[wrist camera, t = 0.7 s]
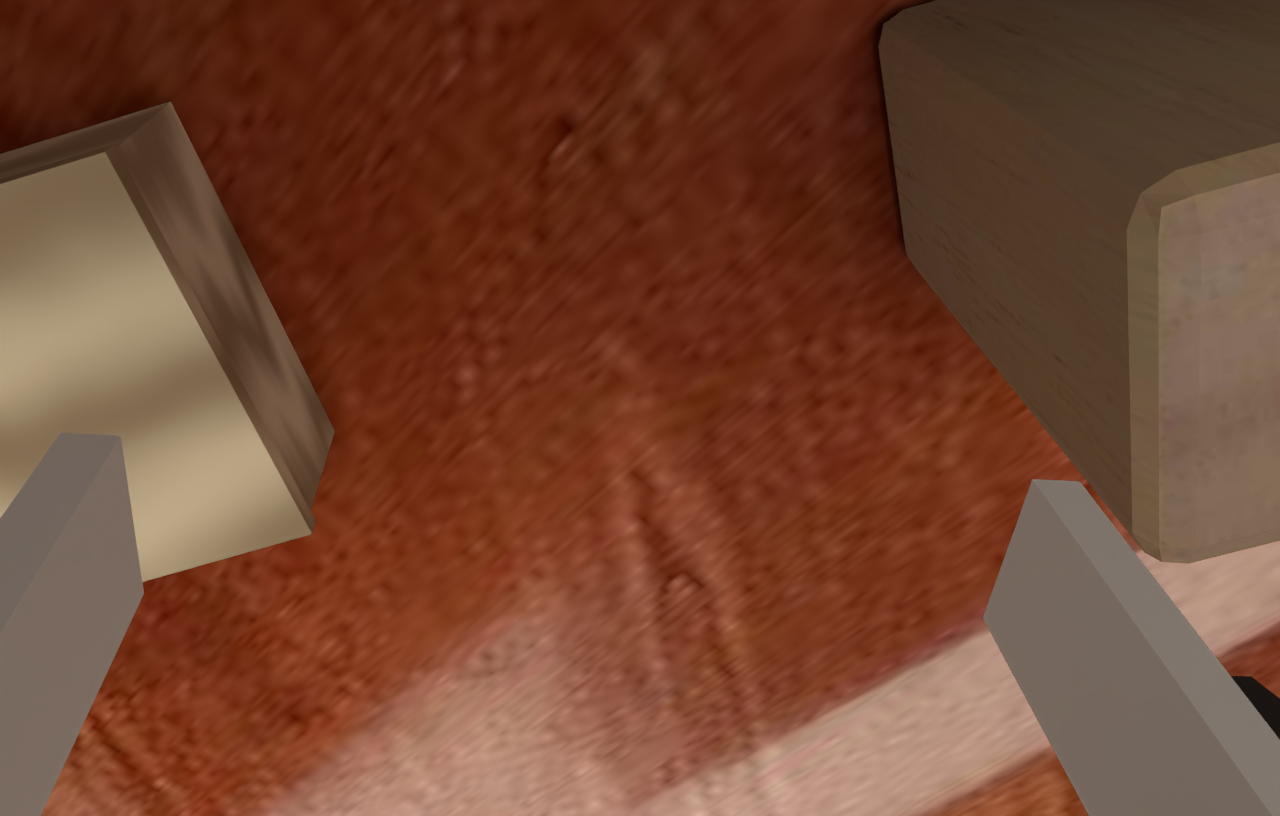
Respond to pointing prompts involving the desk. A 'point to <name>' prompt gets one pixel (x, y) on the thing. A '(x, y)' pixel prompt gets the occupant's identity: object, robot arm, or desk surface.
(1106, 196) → the block
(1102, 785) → the robot arm
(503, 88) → the desk surface
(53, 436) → the oak box
